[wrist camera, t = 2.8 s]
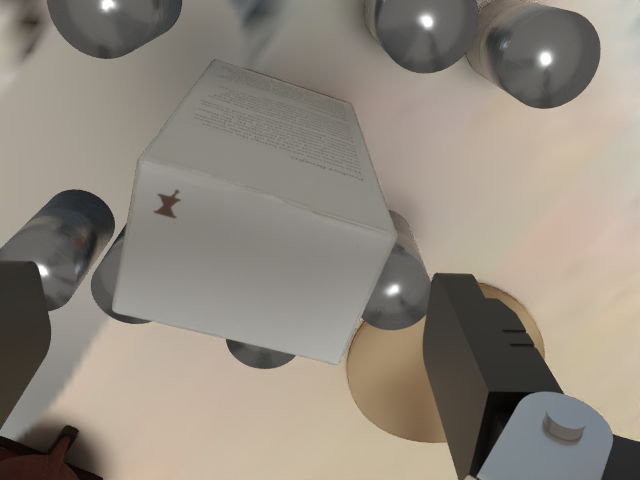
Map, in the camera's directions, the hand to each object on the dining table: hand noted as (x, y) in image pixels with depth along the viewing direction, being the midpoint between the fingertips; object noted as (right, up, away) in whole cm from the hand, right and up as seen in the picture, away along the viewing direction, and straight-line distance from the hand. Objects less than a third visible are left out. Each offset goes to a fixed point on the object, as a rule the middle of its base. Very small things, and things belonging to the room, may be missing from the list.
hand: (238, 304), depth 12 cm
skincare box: (0, +6, +12) cm, 14 cm away
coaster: (+8, -5, +18) cm, 20 cm away
